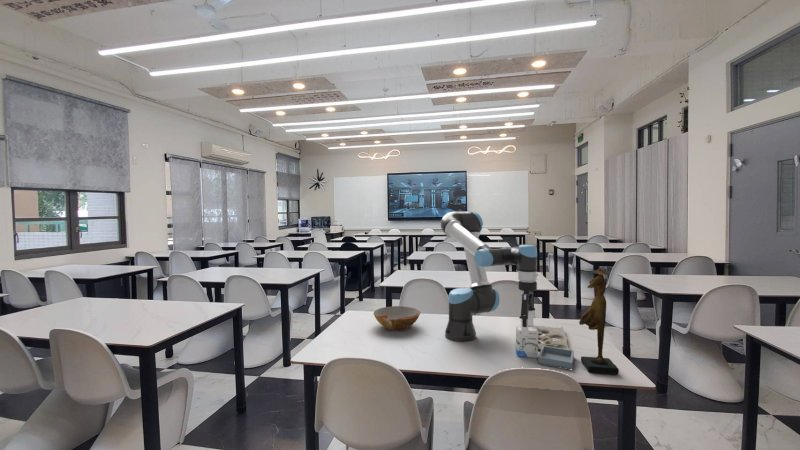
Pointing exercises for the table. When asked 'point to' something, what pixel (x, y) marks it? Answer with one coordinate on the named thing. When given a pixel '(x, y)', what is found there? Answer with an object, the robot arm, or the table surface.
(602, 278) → the sculpture
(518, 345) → the ink box
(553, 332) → the stone relief
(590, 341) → the table surface
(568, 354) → the tray
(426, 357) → the table surface
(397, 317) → the bowl
